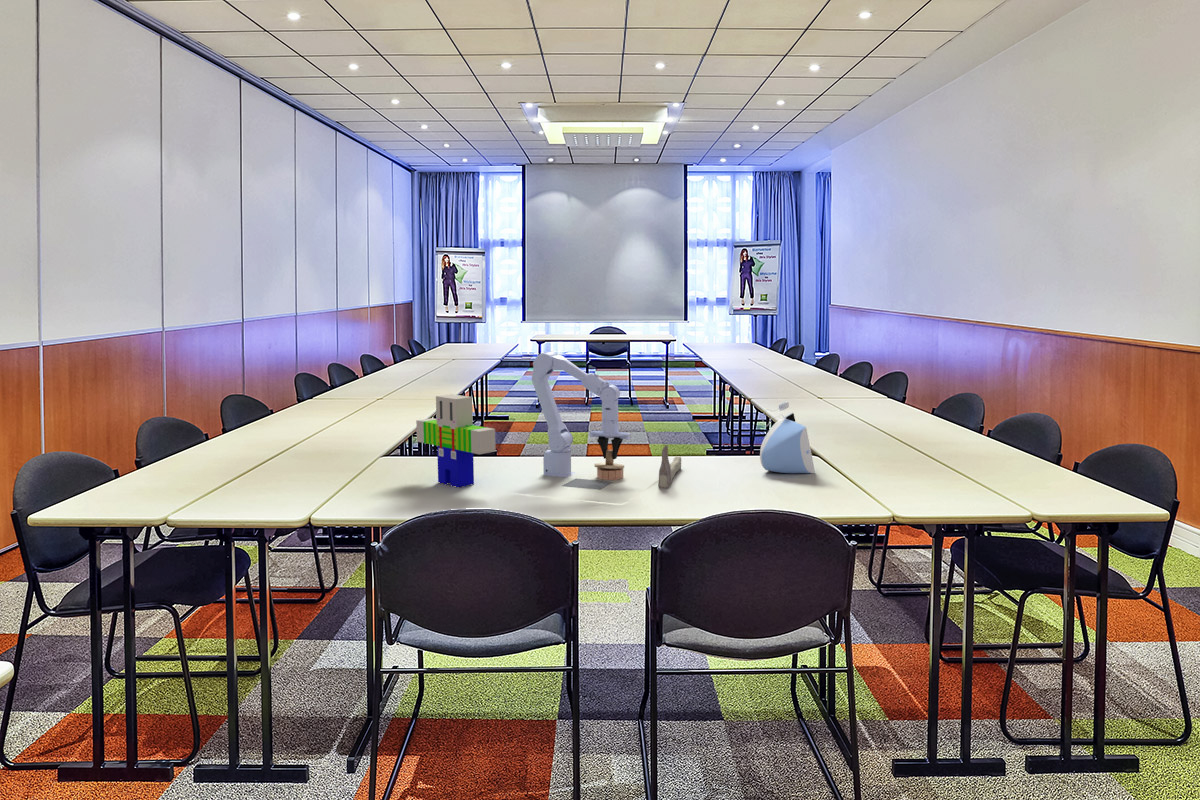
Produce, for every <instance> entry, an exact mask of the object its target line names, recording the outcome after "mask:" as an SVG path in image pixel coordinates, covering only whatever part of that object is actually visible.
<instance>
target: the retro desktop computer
mask: <svg viewBox="0 0 1200 800" xmlns="http://www.w3.org/2000/svg"><path fill="white" fill-rule="evenodd" d="M789 407H790V403H789V401H787V400H786V401H784V402H782V403H780V404H779V405H778V408H777V409H774V412H776V411H777V410H779V411H785V410H786V409H788V408H789ZM767 411H771V412H773V410H772V409H765V411H763V414H762V416H765V413H766V412H767ZM781 416H782V418H780V419H778V420H777V421H776V422H775V423H773V425H772V426H771V428H770V429H769V430H768V431H767V433H766V435H765V436H764V438H763V440H762V443H761V445H760V451H759V452H760V453H759V460H760V464H761V466H762V468H763V469H764V470H765V471H769V472H772V473H773V472H774V473H781V474H809V473H810V474H814V473H813V472H815V473H816V469H815V464H814V460H813V454H812V450H811V446H810V439H809V435H808V430H807V429H808V428H807V426H805V425H803V424H800V423H798V422H796V418H795V413H794V412H790V413H789V414H787V415H786V416H784V415H783V414H779V415H778V416H777V418H779V417H781ZM772 418H773V419H774V418H775V416H772V417H771V418H770V419H769V421H768V423H767V425H766V424H765V423H764V422H765V421H762V424H763V425H764V426H765V427H768V426H769V425H770V422H771V420H772Z"/></svg>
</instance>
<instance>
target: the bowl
mask: <svg viewBox="0 0 1200 800" xmlns="http://www.w3.org/2000/svg"><path fill="white" fill-rule="evenodd" d="M596 477H597V478H598V479H599V480H604V481H609V480H610V481H612V480H620V479H623V478H624V468H621V469H607V468H597V467H596Z"/></svg>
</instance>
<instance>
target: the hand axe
mask: <svg viewBox="0 0 1200 800" xmlns="http://www.w3.org/2000/svg"><path fill="white" fill-rule="evenodd" d="M668 449H669V447H668V444H666V445H664V447H663V448H662V450H661V464H660V467H659V471H658V481H657V482H658V484H657V485H658V488H659V489H668V488H669V487H670V485H672V480H673V478H674V476H675V474H676V473H678V471H680V470H681V469H682V457H681V456H679V455H678V456H677V455H676V456H675V457H674V458H673V460H672V462H671V463H670V460H669V453H668V452H669V450H668ZM680 468H681V469H680ZM679 469H680V470H679Z"/></svg>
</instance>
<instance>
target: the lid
mask: <svg viewBox="0 0 1200 800" xmlns="http://www.w3.org/2000/svg"><path fill="white" fill-rule="evenodd" d="M612 454H613V449H608V450H606V459H605V462H599V463H593V465H594V468H596V469H597V468H607V469H621V468H623V469H625V464H621V463H614V461H615V459H613V457H612Z"/></svg>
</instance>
